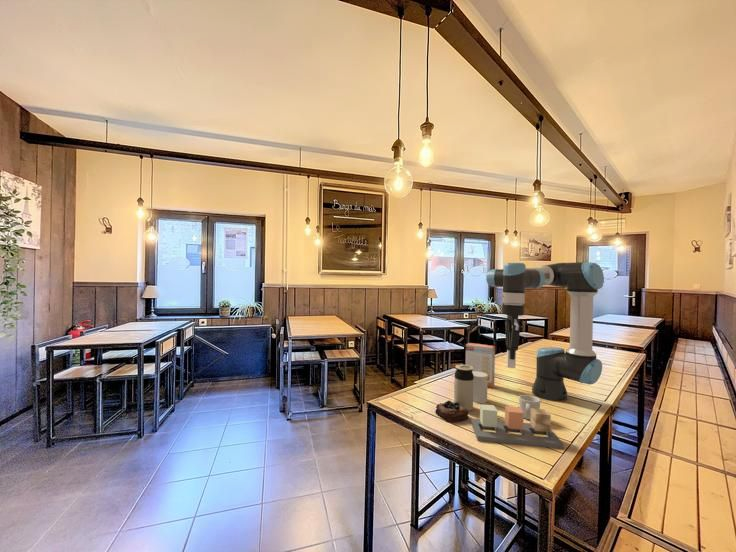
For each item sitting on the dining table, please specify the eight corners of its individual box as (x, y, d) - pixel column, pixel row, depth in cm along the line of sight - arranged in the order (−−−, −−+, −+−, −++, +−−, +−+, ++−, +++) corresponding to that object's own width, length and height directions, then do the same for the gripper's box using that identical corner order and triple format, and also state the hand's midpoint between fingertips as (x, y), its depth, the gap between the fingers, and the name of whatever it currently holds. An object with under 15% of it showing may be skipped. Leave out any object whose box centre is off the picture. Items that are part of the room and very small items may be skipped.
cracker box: (494, 385, 172) (495, 345, 172) (491, 388, 167) (492, 347, 167) (468, 379, 180) (469, 342, 180) (464, 382, 175) (465, 343, 175)
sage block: (493, 421, 122) (494, 405, 122) (496, 427, 117) (497, 410, 117) (479, 420, 123) (480, 404, 123) (482, 426, 118) (482, 409, 118)
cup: (538, 426, 125) (539, 406, 125) (516, 421, 129) (516, 401, 129) (540, 416, 134) (541, 397, 134) (519, 411, 139) (520, 393, 139)
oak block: (544, 425, 119) (545, 409, 119) (550, 432, 114) (550, 415, 114) (530, 424, 120) (530, 408, 120) (535, 430, 115) (535, 413, 115)
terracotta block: (518, 423, 121) (519, 407, 121) (523, 429, 116) (523, 413, 116) (504, 422, 121) (505, 406, 121) (508, 428, 116) (508, 411, 116)
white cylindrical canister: (488, 403, 147) (488, 377, 146) (469, 402, 148) (470, 376, 148) (485, 397, 154) (486, 372, 154) (467, 395, 156) (468, 370, 156)
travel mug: (476, 407, 142) (476, 366, 142) (467, 413, 136) (468, 370, 136) (459, 402, 147) (460, 363, 147) (450, 407, 141) (451, 366, 141)
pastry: (449, 425, 126) (450, 410, 126) (431, 412, 137) (432, 398, 137) (472, 420, 130) (472, 405, 130) (452, 408, 141) (453, 395, 141)
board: (547, 428, 123) (547, 424, 123) (563, 448, 110) (563, 443, 110) (470, 422, 128) (471, 418, 128) (477, 440, 114) (477, 436, 114)
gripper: (498, 302, 128) (496, 362, 128) (506, 305, 115) (504, 371, 115) (518, 303, 127) (516, 363, 127) (529, 306, 114) (527, 373, 114)
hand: (511, 367), depth 121 cm, fingers closed
